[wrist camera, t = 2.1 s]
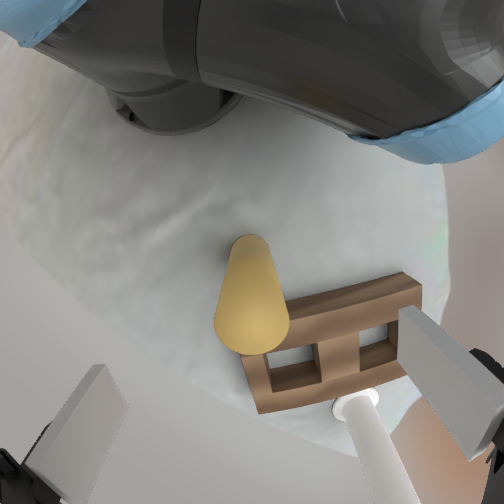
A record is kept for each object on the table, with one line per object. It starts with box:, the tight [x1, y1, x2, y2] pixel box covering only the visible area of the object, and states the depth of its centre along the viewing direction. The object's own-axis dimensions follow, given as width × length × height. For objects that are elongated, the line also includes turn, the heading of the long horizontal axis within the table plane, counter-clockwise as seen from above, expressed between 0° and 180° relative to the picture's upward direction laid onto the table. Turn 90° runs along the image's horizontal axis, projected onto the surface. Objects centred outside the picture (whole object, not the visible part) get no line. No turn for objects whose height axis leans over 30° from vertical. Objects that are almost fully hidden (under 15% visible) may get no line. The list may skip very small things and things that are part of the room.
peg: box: [214, 235, 290, 355], centre depth 22 cm, size 4×4×15 cm
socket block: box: [240, 272, 422, 414], centre depth 30 cm, size 12×20×4 cm, turn 102°
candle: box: [332, 387, 421, 504], centre depth 23 cm, size 7×7×25 cm
